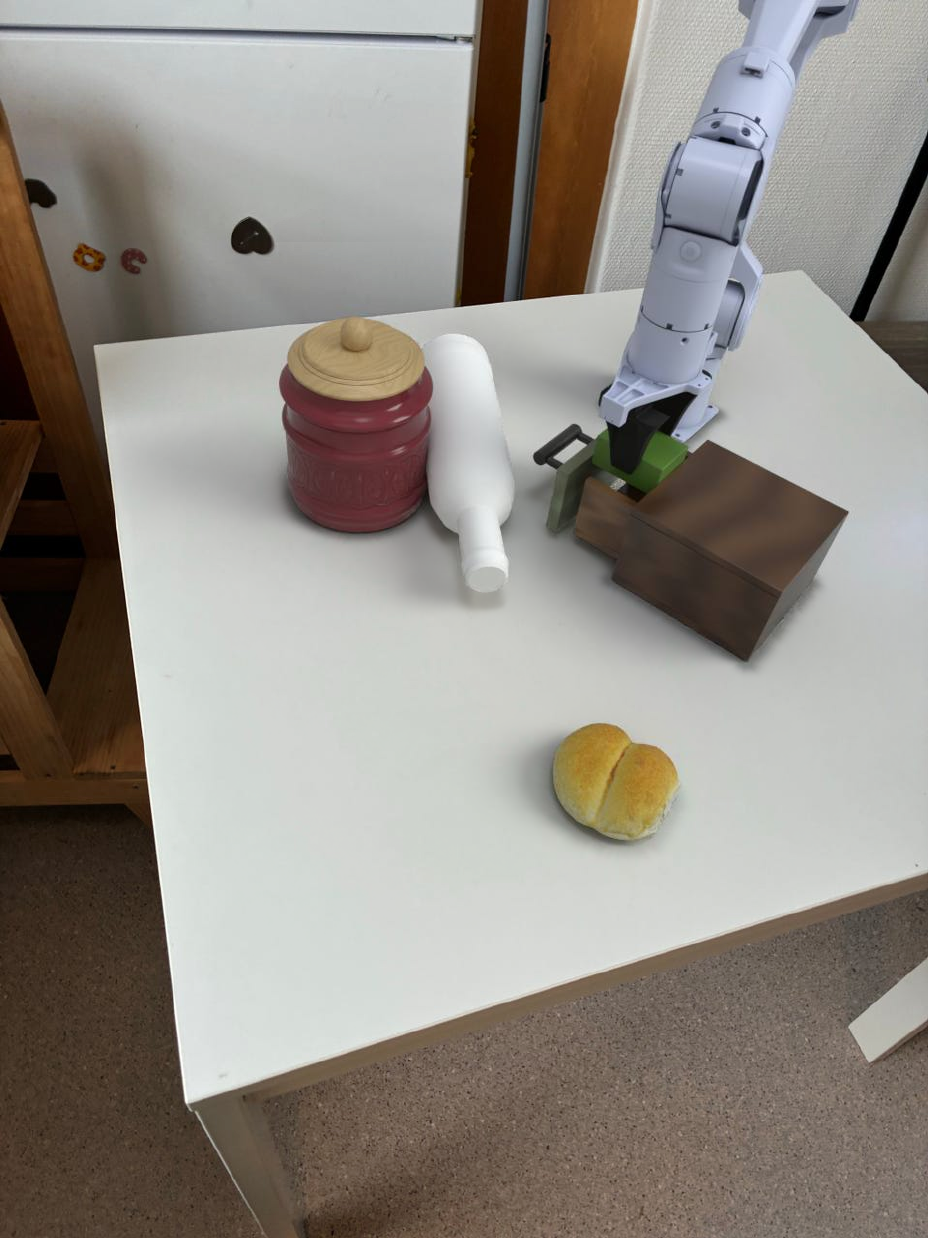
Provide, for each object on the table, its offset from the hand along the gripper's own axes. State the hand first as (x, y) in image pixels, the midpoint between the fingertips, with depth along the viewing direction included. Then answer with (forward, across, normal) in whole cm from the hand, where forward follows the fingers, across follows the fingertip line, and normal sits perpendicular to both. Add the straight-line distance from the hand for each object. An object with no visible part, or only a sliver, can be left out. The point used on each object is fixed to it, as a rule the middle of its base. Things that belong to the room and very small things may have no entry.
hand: (637, 455), depth 78 cm
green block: (+1, 0, 0) cm, 1 cm away
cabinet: (+8, 0, -10) cm, 13 cm away
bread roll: (+9, -24, -15) cm, 30 cm away
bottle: (+4, +4, +24) cm, 25 cm away
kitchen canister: (+9, -13, +21) cm, 26 cm away
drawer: (+8, 0, 0) cm, 8 cm away
